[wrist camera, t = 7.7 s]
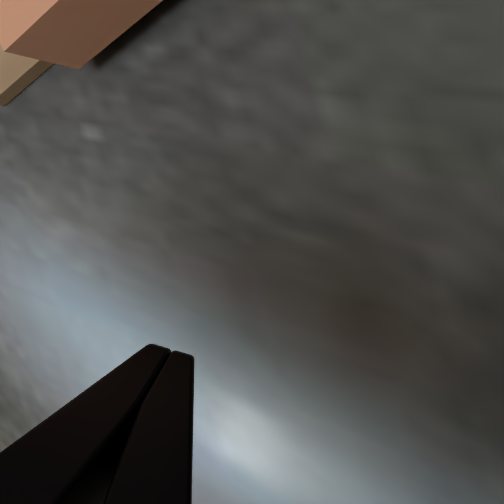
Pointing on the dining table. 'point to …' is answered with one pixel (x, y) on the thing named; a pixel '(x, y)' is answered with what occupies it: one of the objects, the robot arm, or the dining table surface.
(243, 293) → the dining table surface
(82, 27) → the tan rectangular block
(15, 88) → the board
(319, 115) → the dining table surface
